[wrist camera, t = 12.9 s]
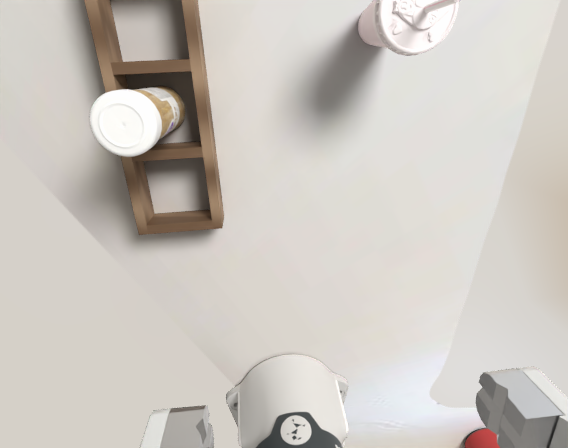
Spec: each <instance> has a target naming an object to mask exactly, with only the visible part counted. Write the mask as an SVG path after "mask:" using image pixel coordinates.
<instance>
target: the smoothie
mask: <svg viewBox="0 0 568 448" xmlns="http://www.w3.org/2000/svg"><path fill="white" fill-rule="evenodd" d="M460 1H461V0H373V1H372V2H371V3H370V4H369V6H368V7H367V8H366V9H365V10H364V11H363V13H362V14H361V16H360V19H359V22H358V31H359V35H360V37H361V39H362V40H363V41H364V42H365V43H367V44H369V45H372V46H378V47H384V48H388V49H390V50H392V51H393V52H395V53H397V54H401V55H405V56H410V55H418V54H420V53H424V52H427V51H429V50H431V49H433V48H434V47H436V46H437V45H438V44H439V43H440V42H441V41H442V40H443V39H444V38H445V37H446V36H447V34H448V33H449V31H450V30H451V28H452V26H453V24H454V21H455V19H456V15H457V11H458V4H459V2H460Z"/></svg>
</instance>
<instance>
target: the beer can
mask: <svg viewBox="0 0 568 448" xmlns="http://www.w3.org/2000/svg"><path fill="white" fill-rule="evenodd" d="M465 448H500V447H499V445H498V444H497V434H495V433H494V432H492V431H491V430H489V429H487V428H482V429H479V430H476V431H474V432H473V433H471V434H470V435H469V436H468V437H467V439H466V442H465Z"/></svg>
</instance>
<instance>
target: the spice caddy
mask: <svg viewBox="0 0 568 448" xmlns="http://www.w3.org/2000/svg"><path fill="white" fill-rule="evenodd" d="M84 1H85V5H86V10H87V14H88V18H89V23H90V27H91V31H92V35H93V40H94V44H95V48H96V53H97V57H98V61H99V65H100V70H101V74H102V78H103V83H104V87H105V91H106V93H107V92H110V91H114V90H121V89H128V85H127V80H126V75H131V74H152V73H173V72H192V79H193V87H194V94H195V101H196V108H197V116H198V123H199V130H200V137H201V141H200V142H184V143H167V144H155V145H154V146H153V147H152V148H151V149H149V150H148V151H146V152H145V153H143V154H141V155H138V156H133V157H124V156H121V160H122V164H123V168H124V173H125V177H126V181H127V185H128V190H129V194H130V198H131V203H132V207H133V211H134V215H135V220H136V224H137V228H138V233H139V235H143V234H156V233H168V232H180V231H193V230H205V229H217V228H222V226H223V220H224V212H223V204H222V196H221V188H220V180H219V171H218V163H217V155H216V147H215V139H214V130H213V122H212V114H211V106H210V98H209V90H208V81H207V73H206V65H205V57H204V49H203V41H202V32H201V24H200V16H199V8H198V0H182V7H183V14H184V21H185V29H186V36H187V43H188V50H189V58H190V59H180V60H157V61H135V62H123V61H122V56H121V51H120V47H119V42H118V37H117V32H116V27H115V23H114V18H113V13H112V8H111V3H110V0H84ZM197 157H203V159H204V166H205V174H206V181H207V188H208V195H209V203H210V210H198V211H185V212H172V213H159V214H154V210H153V205H152V200H151V195H150V191H149V186H148V181H147V176H146V171H145V167H144V162H143V161H151V160H167V159H182V158H197Z"/></svg>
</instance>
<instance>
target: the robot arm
mask: <svg viewBox="0 0 568 448" xmlns="http://www.w3.org/2000/svg"><path fill="white" fill-rule="evenodd" d="M479 383H480V384H481V385H482V387H483V388H482V389H481V390H480V391H479V392H478V393H477V396H476V406H477V411H478V413H479V416H480V418H481V420H482V421H483V423H484V424H485V426H486V428H487V429H489V430H491V431H492V432H494V433H495V434H497V444H498V445H499V447H500V448H568V398H567V397H566V396H565V395H564V394H563V393H562V392H561V391H560V390H559V389H558V388H557V387H556V386H555V385H554V384H553V383H552V382H551V381H550V380H549V379H548V378H547V377H546V376H545V375H544V374H543V373H542V372H541V371H540V370H539V369H537V368H536V367H525V368H517V369H506V370H498V371H491V372H484V373H483V374H482V375H481V376H480V380H479ZM347 391H348V382H347V380H346V379H345V378H344V377H342V376H339V375H337V374H334V373H332V372H331V371H330V370H329V369H328V368H327V367H326V366H325V365H324V364H323V363H321V362H320V361H318V360H316V359H314V358H312V357H308V356H304V355H296V354H289V355H281V356H277V357H273V358H270V359H268V360H265V361H263V362H262V363H260V364H258V365H257V366H256V367H254V368H253V369H252V370H251V371H250V372H249V373H248V374H247V376H246V377H245V378H244V380H243V381H242V382H241V383H240V384H239V385H237V386H236V387H234V388H233V389H232V390H230V391H229V392H228V393H227V394H226V400H227V404H228V406H229V408H230V411H231V413H232V415H233V417H234V420H235V422H236V424H237V426H238V441H239V445H240V446H241V447H242V448H344V447H345V442H344V440H345V438H347V432H348V424H347V419H346V415H345V411H344V407H343V404H344V401H345V397H346V394H347ZM208 421H209V410H208V406H206V405H205V406H194V407H182V408H172V409H163V410H154V411H153V412H152V414H151V415H150V417H149V421H148V423H147V426H146V430H145V433H144V436H143V439H142V442H141V445H140V448H214V438H213V430H212V425H211V424H209V423H208Z"/></svg>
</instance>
